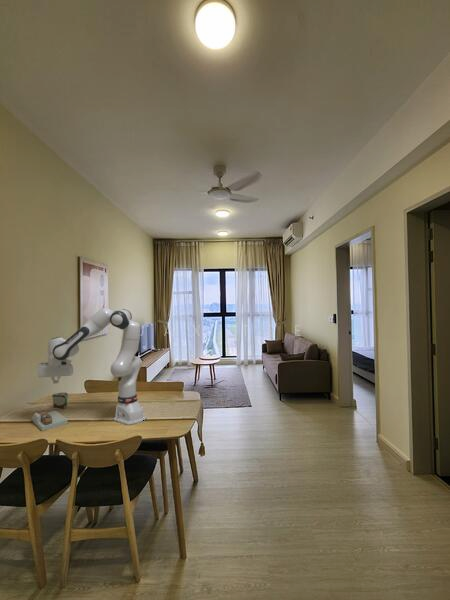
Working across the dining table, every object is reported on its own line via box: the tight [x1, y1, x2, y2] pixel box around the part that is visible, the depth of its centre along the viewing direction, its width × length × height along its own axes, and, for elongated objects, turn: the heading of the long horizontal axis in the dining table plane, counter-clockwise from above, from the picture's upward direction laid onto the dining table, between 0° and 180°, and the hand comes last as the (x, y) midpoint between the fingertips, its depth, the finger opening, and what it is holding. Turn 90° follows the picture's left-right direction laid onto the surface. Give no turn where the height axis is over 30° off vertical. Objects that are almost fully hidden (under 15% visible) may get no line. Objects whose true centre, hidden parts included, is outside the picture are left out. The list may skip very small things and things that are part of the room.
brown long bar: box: [36, 409, 52, 425], centre depth 180 cm, size 18×4×4 cm, turn 48°
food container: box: [51, 392, 69, 410], centre depth 210 cm, size 12×6×10 cm, turn 74°
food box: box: [31, 409, 69, 432], centre depth 184 cm, size 24×14×6 cm, turn 46°
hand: (55, 383), depth 187 cm, fingers closed
